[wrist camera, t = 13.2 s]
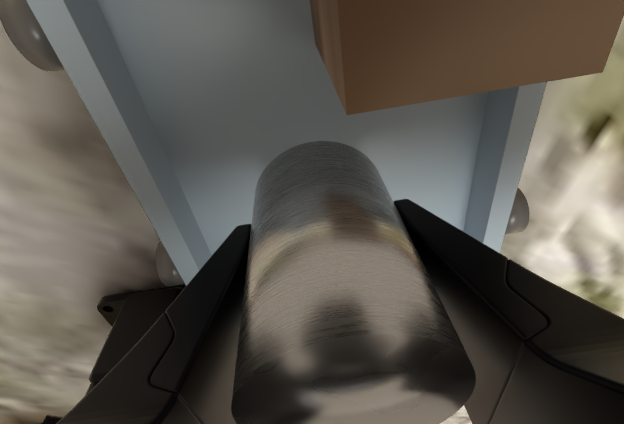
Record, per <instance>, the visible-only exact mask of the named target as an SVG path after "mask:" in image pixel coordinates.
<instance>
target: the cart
mask: <svg viewBox="0 0 624 424" xmlns="http://www.w3.org/2000/svg"><path fill="white" fill-rule="evenodd" d="M0 19H1V22H2V24H3V27H4V29H5V31H6V33H7V34H8V36H9V38H10V39H11V41H12V42H13V44H14V45H15V47H16V48H17V49H18V50H19V51H20V53H21V54H22V55H23V56H24V57H25V58H26V59H27V60H28V61H30V62H31V63H32V64H34V65H35V66H37V67H38V68H40V69H42V70H45V71H50V72H51V71H58V70H64V69H65V70H66V72H67V74H68V76H69V78H70V79H71V81H72V83H73V85H74V87H75V88H76V90H77V92H78V94H79V95H80V97H81V99H82V101H83V103H84V104H85V106H86V108H87V110H88V111H89V113H90V115H91V117H92V119H93V120H94V122H95V124H96V126H97V128H98V129H99V131H100V133H101V135H102V136H103V138H104V140H105V142H106V144H107V145H108V147H109V149H110V151H111V153H112V154H113V156H114V158H115V160H116V161H117V163H118V165H119V167H120V169H121V170H122V172H123V174H124V176H125V177H126V179H127V181H128V183H129V185H130V186H131V188H132V190H133V192H134V194H135V195H136V197H137V199H138V201H139V202H140V204H141V206H142V208H143V210H144V211H145V213H146V215H147V217H148V218H149V220H150V222H151V224H152V226H153V227H154V229H155V231H156V233H157V235H158V236H159V238H160V240H161V242H160V243H159V245H158V247H157V250H156V256H155V263H156V270H157V274H158V276H159V279H160V280H161V282H162V283H163V284H164V285H165V286H168V287H169V286H176V285H182V284H186V286H187V284H188V283H189V282H190V281H191V280H192V279H193V277H194V276H195V275H196V274H197V273H198V271H199V270H200V269H201V268H202V267H203V266H204V264H205V263H206V262H207V261H208V260H209V258H210V257H211V256H212V255H213V254H214V252H215V251H216V250H217V249H218V248H219V247H220V245H221V244H222V243H223V242H224V241H225V239H226V238H227V237H228V236H229V235H230V234H231V232H232V231H233V230H234V229H235V228H236V227H237V226H238V225H244V224H252V215H253V207H254V198H255V189H256V186H257V182H258V180H259V178H260V175H261V174H262V172H263V171H264V169H265V168H266V167H267V166H268V164H269V163H270V162H271V161H272V160H273V159H275V158H276V157H277V156H278V155H280V154H281V153H283V152H284V151H286V150H288V149H290V148H292V147H295V146H297V145H300V144H304V143H308V142H315V141H331V142H338V143H342V144H346V145H348V146H351V147H353V148H355V149H357V150H359V151H360V152H362V153H363V154H365V155H366V156H367V157H368V158H369V159H370V160H371V161H372V162H373V163H374V165H375V166H376V168H377V169H378V171H379V173H380V175H381V177H382V179H383V181H384V183H385V186H386V188H387V190H388V192H389V194H390V196H391V198H392V200H393V202H394V201H395V200H401V199H409V200H411V201H413V202H414V203H416V204H418V205H419V206H421V207H423V208H424V209H426V210H428V211H429V212H431V213H433V214H434V215H436V216H438V217H440V218H441V219H443V220H445V221H446V222H448V223H450V224H451V225H453V226H455V227H456V228H458V229H460V230H461V231H463V232H465V233H467V234H468V235H470V236H472V237H473V238H475V239H477V240H478V241H480V242H482V243H483V244H485V245H487V246H488V247H490V248H492V249H494V250H495V251H497V252H499V253H500V249H501V245H502V242H503V238H504V235H505V234H510V233H517V232H522V231H523V230H524V229H525V228H526V227H527V225H528V222H529V207H528V203H527V200H526V198H525V196H524V194H523V193H522V191H521V190H520V189H519V188H518V184H519V181H520V177H521V173H522V170H523V166H524V163H525V159H526V155H527V152H528V148H529V145H530V141H531V137H532V134H533V130H534V127H535V123H536V119H537V116H538V112H539V109H540V105H541V101H542V98H543V94H544V91H545V87H546V83H547V82H542V83H536V84H530V85H524V86H518V87H512V88H506V89H500V90H494V91H488V92H483V93H477V94H471V95H465V96H459V97H453V98H447V99H441V100H435V101H429V102H423V103H417V104H412V105H406V106H400V107H394V108H388V109H382V110H376V111H370V112H364V113H358V114H352V115H346V112H345V110H344V108H343V105H342V103H341V101H340V99H339V96H338V94H337V92H336V90H335V87H334V85H333V83H332V81H331V78H330V76H329V74H328V72H327V69H326V67H325V65H324V63H323V60H322V58H321V56H320V54H319V51H318V49H317V47H316V45H315V38H314V30H313V22H312V14H311V6H310V0H0Z"/></svg>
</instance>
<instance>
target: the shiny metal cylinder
mask: <svg viewBox="0 0 624 424" xmlns="http://www.w3.org/2000/svg"><path fill="white" fill-rule="evenodd" d="M475 383H476V374H475V370H474V368H473V365H472V363H471V361H470V359H469V357H468V355H467V353H466V351H465V349H464V347H463V345H462V343H461V341H460V339H459V336H458V334H457V332H456V330H455V328H454V326H453V324H452V322H451V320H450V318H449V316H448V314H447V312H446V310H445V308H444V305H443V303H442V301H441V299H440V297H439V295H438V293H437V291H436V289H435V287H434V285H433V283H432V281H431V279H430V276H429V274H428V272H427V270H426V268H425V266H424V264H423V262H422V260H421V258H420V256H419V254H418V252H417V250H416V248H415V245H414V243H413V241H412V239H411V237H410V235H409V233H408V231H407V229H406V227H405V225H404V223H403V221H402V219H401V217H400V214H399V212H398V210H397V208H396V206H395V204H394V202H393V200H392V198H391V196H390V194H389V192H388V190H387V188H386V186H385V183H384V181H383V179H382V177H381V175H380V173H379V171H378V169H377V168H376V166H375V165H374V163H373V162H372V161H371V160H370V159H369V158H368V157H367V156H366V155H365V154H363V153H362V152H360V151H359V150H357V149H355V148H353V147H351V146H348V145H346V144H342V143H338V142H331V141H315V142H308V143H304V144H300V145H297V146H295V147H292V148H290V149H288V150H286V151H284V152H283V153H281V154H280V155H278V156H277V157H276V158H275V159H273V160H272V161H271V162H270V163H269V164H268V166H267V167H266V168H265V169H264V171H263V172H262V174H261V175H260V178H259V180H258V182H257V186H256V189H255V198H254V207H253V215H252V224H251V233H250V242H249V251H248V260H247V269H246V278H245V287H244V296H243V305H242V314H241V323H240V332H239V340H238V349H237V358H236V367H235V376H234V385H233V394H232V403H231V411H232V416H233V418H234V420H235V422H236V423H237V424H439V423H441V422H443V421H444V420H446V419H447V418H449V417H450V416H452V415H453V414H454V413H456V412H457V411H458V410H459V409H460V408H461V407H462V406H463V405H464V404H465V403H466V402H467V400H468V399H469V398H470V396H471V395H472V392H473V390H474V388H475Z"/></svg>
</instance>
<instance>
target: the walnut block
mask: <svg viewBox="0 0 624 424" xmlns="http://www.w3.org/2000/svg"><path fill="white" fill-rule="evenodd" d="M310 6H311V14H312V22H313V30H314V38H315V45H316V47H317V49H318V51H319V54H320V56H321V58H322V60H323V63H324V65H325V67H326V69H327V72H328V74H329V76H330V78H331V81H332V83H333V85H334V87H335V90H336V92H337V94H338V96H339V99H340V101H341V103H342V105H343V108H344V110H345V112H346V115H352V114H358V113H364V112H370V111H376V110H382V109H388V108H394V107H400V106H406V105H412V104H417V103H423V102H429V101H435V100H441V99H447V98H453V97H459V96H465V95H471V94H477V93H483V92H488V91H494V90H500V89H506V88H512V87H518V86H524V85H530V84H536V83H542V82H548V81H554V80H559V79H565V78H571V77H577V76H583V75H589V74H595V73H601V72H603V70H604V67H605V65H606V62H607V59H608V56H609V54H610V51H611V48H612V45H613V43H614V40H615V37H616V35H617V32H618V29H619V26H620V24H621V21H622V18H623V16H624V0H310Z"/></svg>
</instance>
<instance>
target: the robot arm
mask: <svg viewBox="0 0 624 424" xmlns="http://www.w3.org/2000/svg"><path fill="white" fill-rule="evenodd" d="M394 204H395V206H396V208H397V210H398V212H399V214H400V217H401V219H402V221H403V223H404V225H405V227H406V229H407V231H408V233H409V235H410V237H411V239H412V241H413V243H414V245H415V248H416V250H417V252H418V254H419V256H420V258H421V260H422V262H423V264H424V266H425V268H426V270H427V272H428V274H429V276H430V279H431V281H432V283H433V285H434V287H435V289H436V291H437V293H438V295H439V297H440V299H441V301H442V303H443V305H444V308H445V310H446V312H447V314H448V316H449V318H450V320H451V322H452V324H453V326H454V328H455V330H456V332H457V334H458V336H459V339H460V341H461V343H462V345H463V347H464V349H465V351H466V353H467V355H468V357H469V359H470V361H471V363H472V365H473V368H474V370H475V374H476V383H475V388H474V390H473V392H472V395H471V396H470V398H469V399H468V400H467V402H466V403H465V404H464V406H465V408H466V410H467V413H468V415H469V417H470V419H471V421H472V424H624V319H623V318H621V317H619V316H617V315H615V314H613V313H611V312H609V311H607V310H605V309H603V308H601V307H599V306H597V305H595V304H593V303H591V302H589V301H587V300H585V299H583V298H581V297H579V296H577V295H575V294H573V293H571V292H569V291H567V290H565V289H563V288H561V287H559V286H557V285H555V284H553V283H551V282H549V281H547V280H545V279H544V278H542V277H540V276H538V275H537V274H535V273H533V272H531V271H529V270H528V269H526V268H524V267H522V266H521V265H519V264H517V263H516V262H514V261H512V260H508V258H507V257H505V256H504V255H502V254H500V253H499V252H497V251H495V250H494V249H492V248H490V247H488V246H487V245H485V244H483V243H482V242H480V241H478V240H477V239H475V238H473V237H472V236H470V235H468V234H467V233H465V232H463V231H461V230H460V229H458V228H456V227H455V226H453V225H451V224H450V223H448V222H446V221H445V220H443V219H441V218H440V217H438V216H436V215H434V214H433V213H431V212H429V211H428V210H426V209H424V208H423V207H421V206H419V205H418V204H416V203H414V202H413V201H411V200H409V199H401V200H395V201H394ZM250 233H251V224H244V225H238V226H237V227H236V228H235V229H234V230H233V231H232V232H231V234H230V235H229V236H228V237H227V238H226V239H225V241H224V242H223V243H222V244H221V245H220V247H219V248H218V249H217V250H216V251H215V252H214V254H213V255H212V256H211V257H210V258H209V260H208V261H207V262H206V263H205V264H204V266H203V267H202V268H201V269H200V270H199V271H198V273H197V274H196V275H195V276H194V277H193V279H192V280H191V281H190V282H189V283H188V284H187V286H186V284H182V285H176V286H170V287H163V288H157V289H150V290H144V291H137V292H131V293H125V294H118V295H112V296H106V297H103V298H102V299H101V300H100V302H99V304H98V306H97V309H98V311H99V312H100V313H101V314H102V315H103V317H104V318H105V319H106V320H107V321H108V322H109V324H110V325H111V326H112V329H111V331H110V333H109V335H108V338H107V340H106V342H105V344H104V346H103V348H102V350H101V352H100V355H99V357H98V359H97V361H96V363H95V365H94V367H93V370H92V372H91V374H90V377H89V380H90V382H91V384H90V386H89V389H88V391H87V393H86V395H85V397H84V398H83V399H82V400H81V401H80V402H79V403H78V404H77V405H76V406H75V407H74V408H73V409H72V410H71V411H70V412H69V413H68V414H67V415H66V416H65V417H57V416H51V415H47V416H46V418H45V420H44V422H43V424H237V423H236V422H235V420H234V418H233V416H232V411H231V403H232V394H233V385H234V376H235V367H236V358H237V349H238V340H239V332H240V323H241V314H242V305H243V296H244V287H245V278H246V269H247V260H248V251H249V242H250Z"/></svg>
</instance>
